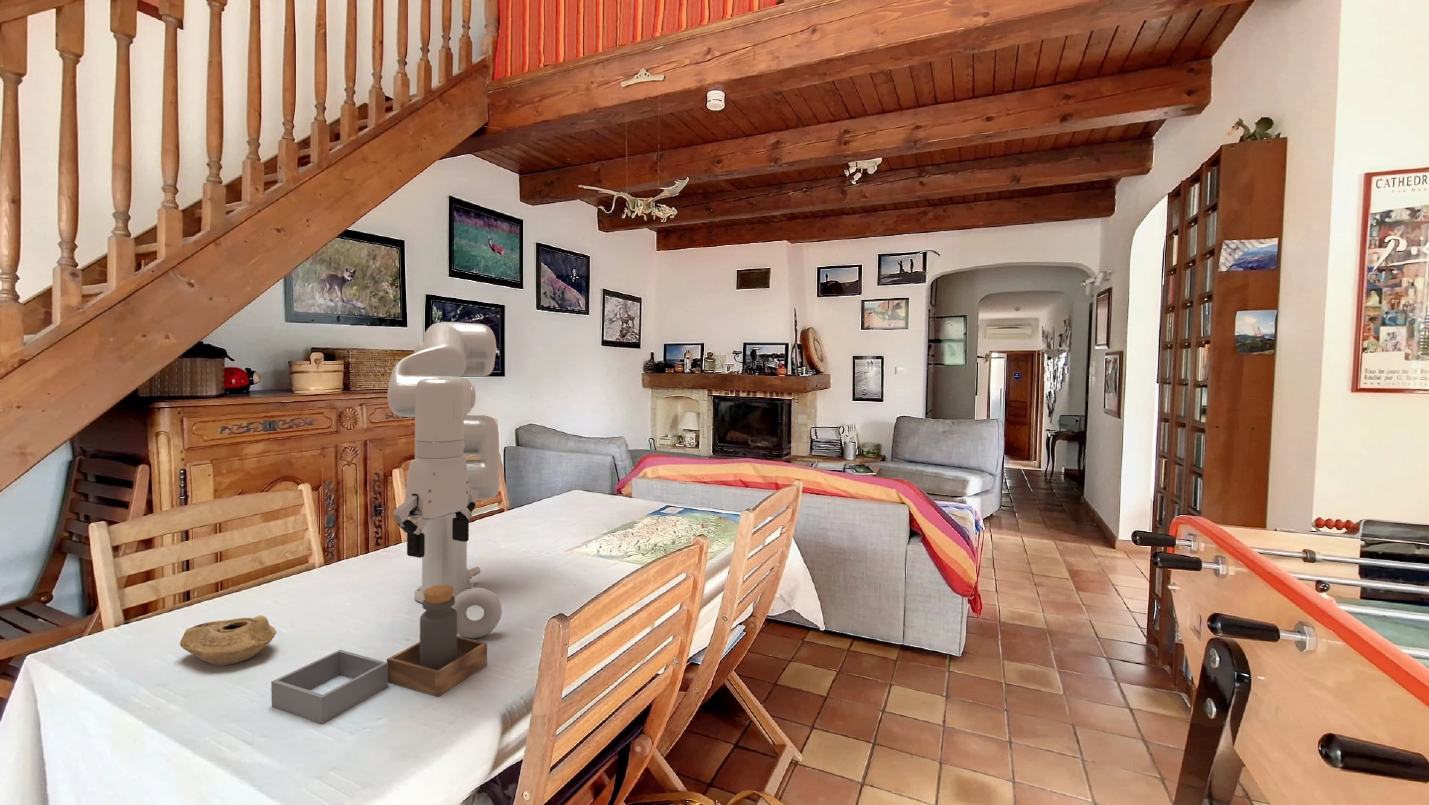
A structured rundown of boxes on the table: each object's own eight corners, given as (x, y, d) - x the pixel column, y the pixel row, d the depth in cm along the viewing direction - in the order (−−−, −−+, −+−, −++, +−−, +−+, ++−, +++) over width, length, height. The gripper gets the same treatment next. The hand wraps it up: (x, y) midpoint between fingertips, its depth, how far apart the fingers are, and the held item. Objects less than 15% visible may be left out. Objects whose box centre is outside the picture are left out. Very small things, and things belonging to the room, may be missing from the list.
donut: (502, 631, 117) (502, 583, 117) (500, 639, 114) (501, 589, 113) (449, 635, 115) (449, 586, 114) (446, 643, 111) (446, 593, 111)
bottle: (442, 684, 97) (442, 597, 96) (412, 679, 98) (412, 593, 98) (463, 667, 103) (464, 585, 102) (435, 662, 104) (435, 581, 103)
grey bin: (340, 671, 100) (340, 649, 100) (387, 686, 96) (387, 662, 96) (271, 706, 90) (271, 681, 89) (322, 723, 86) (321, 697, 86)
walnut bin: (439, 652, 108) (439, 631, 108) (486, 664, 104) (487, 643, 104) (386, 682, 97) (386, 659, 97) (437, 696, 94) (437, 673, 93)
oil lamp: (198, 647, 107) (197, 605, 107) (289, 641, 110) (289, 600, 110) (155, 678, 96) (154, 632, 96) (258, 670, 100) (257, 625, 99)
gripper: (460, 443, 108) (460, 532, 109) (378, 454, 92) (378, 560, 93) (492, 446, 105) (491, 537, 106) (414, 458, 89) (413, 566, 90)
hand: (439, 548), depth 99 cm, fingers open, 9 cm apart
